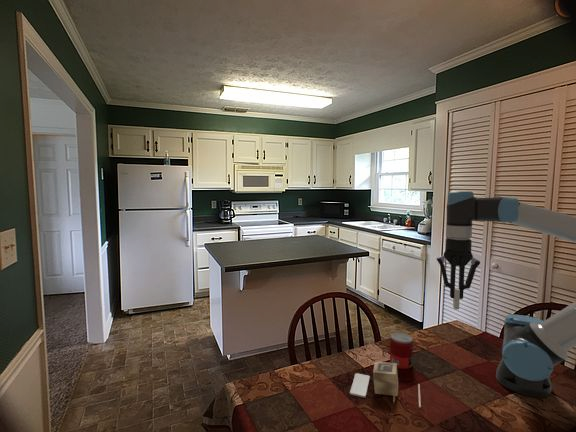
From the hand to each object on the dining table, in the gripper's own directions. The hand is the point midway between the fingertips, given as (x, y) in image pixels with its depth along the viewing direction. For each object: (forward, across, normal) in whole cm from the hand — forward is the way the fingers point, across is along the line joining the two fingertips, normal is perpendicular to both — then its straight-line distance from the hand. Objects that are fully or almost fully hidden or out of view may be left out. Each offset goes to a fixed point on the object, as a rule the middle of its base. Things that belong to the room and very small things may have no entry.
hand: (456, 307), depth 107 cm
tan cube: (+19, +22, +13) cm, 31 cm away
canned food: (+27, +17, -6) cm, 32 cm away
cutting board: (+26, +17, +12) cm, 34 cm away
